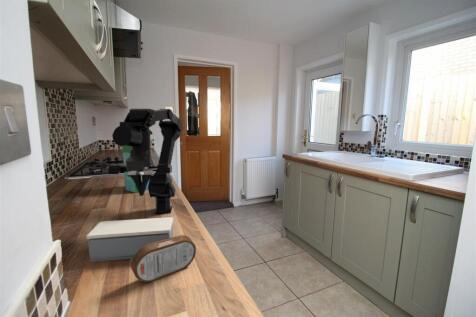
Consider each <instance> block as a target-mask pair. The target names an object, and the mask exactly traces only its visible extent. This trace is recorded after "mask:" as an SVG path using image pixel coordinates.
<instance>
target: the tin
mask: <svg viewBox="0 0 476 317" xmlns="http://www.w3.org/2000/svg"><path fill="white" fill-rule="evenodd" d="M196 253H197V247H196V245H195V242H194V241H193V239H191V237H189V236H188V235H185V234H180V235H175V236H173V237H172V238H169V239H165V240H162V241H158V242H154V243H151V244H148V245H145V246H144V247H142V248H141V249H139V250H138V251H137V252H136V254H135V255H134V257H133V258H131V259H132V260H131V264H130V268H131V271H132V273H133V275H134V277H135V278H136V279H137V280H139V281H141V282H143V283H148V282H153V281H155V280H158V279H161V278H164V277H167V276H170V275H172V274H175V273H177V272H179V271H182V270H184V269H186V268H187V267H189V266H190V265H191V263H193V261H194V259H195V258H196Z"/></svg>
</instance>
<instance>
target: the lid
mask: <svg viewBox="0 0 476 317" xmlns="http://www.w3.org/2000/svg"><path fill="white" fill-rule="evenodd" d="M172 223H174V217H173V216H171V217H156V218H155V217H153V218H139V219H138V218H137V219H122V220H121V219H120V220H106V221H105V220H104V221H100V222H99V223H97V224H96V226H95V227H94V228H93V229H92V230H90V231H89V232H88V233H87V235H86V239H87V240H89V239H92V238H106V237H120V236H133V235H147V234H161V233H170V231H171V227H172Z"/></svg>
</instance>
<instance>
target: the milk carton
mask: <svg viewBox="0 0 476 317" xmlns="http://www.w3.org/2000/svg"><path fill="white" fill-rule="evenodd" d="M121 148H122V149H121V150H122V162H123V165H126V160H127V159H128V157H130V152H131V147H130V146H121ZM145 168H148V167H145ZM123 174H124V188H125V191H127V192H131V193H132V192H133V193H136V194H137V193H139V192H138V190H137V187H136V185H135V183H134V181H133V179H132V178H131V177H127V175H128V172H124V173H123ZM139 174H141V175H143V174H144V173H143V172H139ZM141 178H142V176H141ZM148 184H149V182H148ZM148 184H147V186H146V189H145V191H147V190H148Z"/></svg>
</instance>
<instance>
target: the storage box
mask: <svg viewBox="0 0 476 317" xmlns="http://www.w3.org/2000/svg"><path fill="white" fill-rule="evenodd" d="M173 223H174V222H173ZM173 223H172V227H171V231H170V233H161V234H147V235H133V236H120V237H106V238H92V239H87V244H88V254H89V262H90V263H94V262H105V261H115V260H116V261H117V260H125V259H126V260H128V259H133V257H134V255H135V254H136V252H137V251H138V250H139V249H141V248H142V247H144V246H145V245H148V244H151V243H154V242H158V241H162V240H165V239H169V238H172V237H174V227H173V226H174V224H173Z"/></svg>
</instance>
